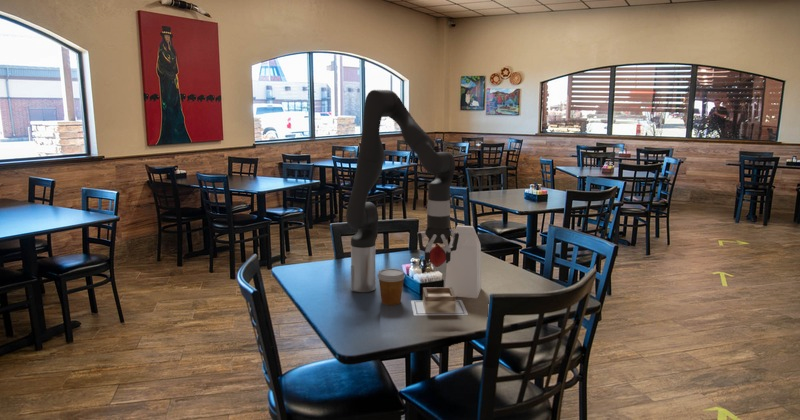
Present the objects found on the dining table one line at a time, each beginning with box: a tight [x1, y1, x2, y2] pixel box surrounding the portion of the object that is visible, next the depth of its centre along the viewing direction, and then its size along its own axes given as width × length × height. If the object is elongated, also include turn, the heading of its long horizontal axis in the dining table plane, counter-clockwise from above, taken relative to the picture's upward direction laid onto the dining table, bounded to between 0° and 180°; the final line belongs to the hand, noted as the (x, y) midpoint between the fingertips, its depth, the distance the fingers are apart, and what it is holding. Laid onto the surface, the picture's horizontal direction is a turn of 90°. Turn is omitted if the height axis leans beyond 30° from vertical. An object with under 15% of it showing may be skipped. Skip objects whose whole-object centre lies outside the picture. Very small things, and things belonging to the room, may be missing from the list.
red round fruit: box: [429, 243, 446, 268], centre depth 184 cm, size 6×6×8 cm
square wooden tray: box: [422, 286, 457, 313], centre depth 187 cm, size 10×10×6 cm
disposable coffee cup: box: [377, 268, 406, 306], centre depth 192 cm, size 10×10×12 cm
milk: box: [444, 224, 482, 299], centre depth 202 cm, size 12×12×26 cm
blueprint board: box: [410, 299, 469, 316], centre depth 188 cm, size 18×14×1 cm
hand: (437, 262), depth 184 cm, fingers closed on red round fruit, 6 cm apart
